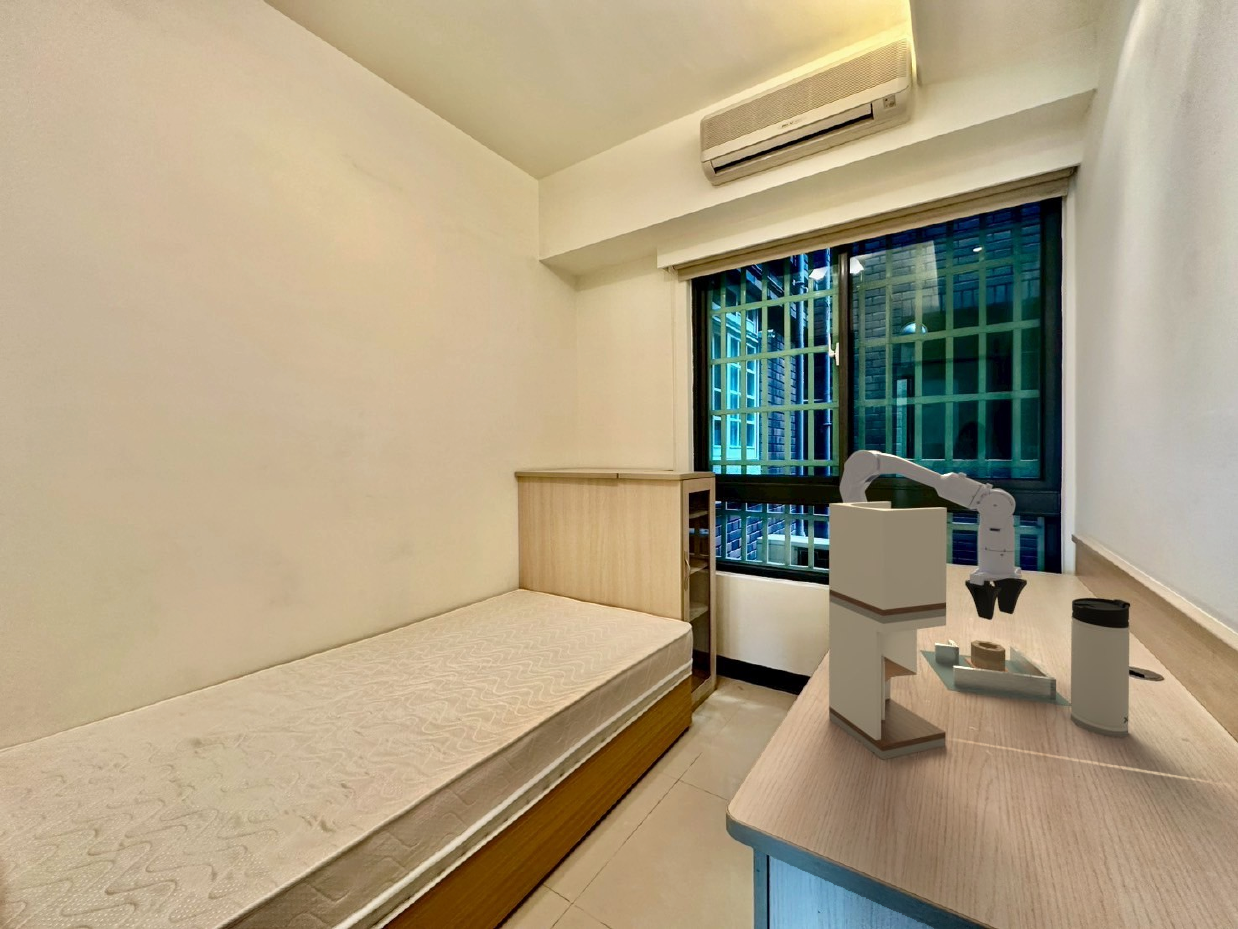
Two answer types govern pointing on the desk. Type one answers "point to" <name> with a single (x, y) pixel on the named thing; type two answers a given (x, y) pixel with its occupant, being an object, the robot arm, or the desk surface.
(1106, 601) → the travel mug
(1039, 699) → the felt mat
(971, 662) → the pad
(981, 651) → the oak ring
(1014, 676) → the metal walled tray
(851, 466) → the robot arm
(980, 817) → the desk surface
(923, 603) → the cream shelf tower
